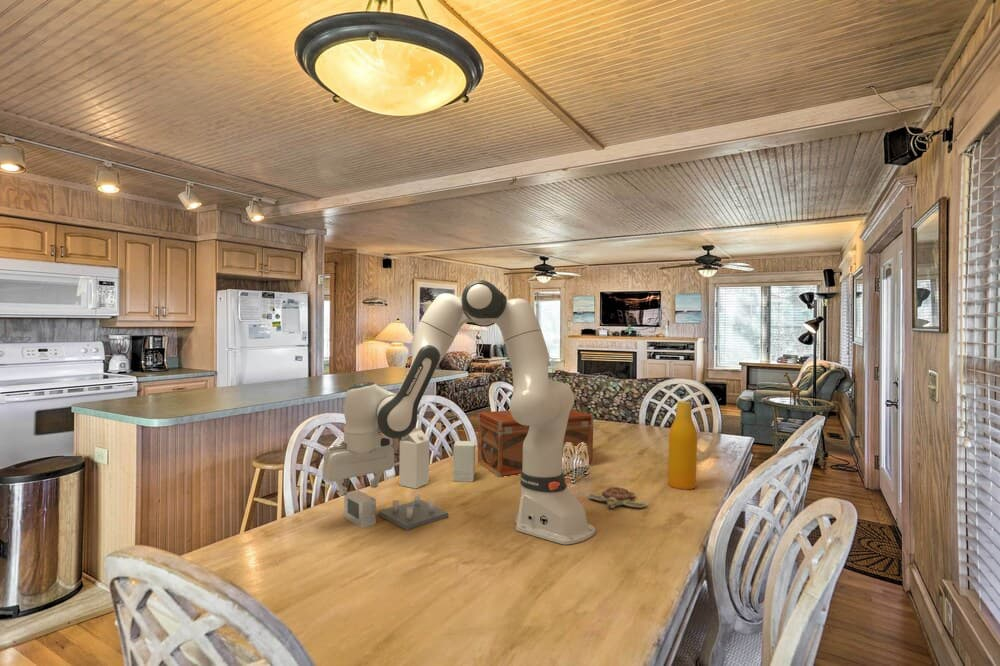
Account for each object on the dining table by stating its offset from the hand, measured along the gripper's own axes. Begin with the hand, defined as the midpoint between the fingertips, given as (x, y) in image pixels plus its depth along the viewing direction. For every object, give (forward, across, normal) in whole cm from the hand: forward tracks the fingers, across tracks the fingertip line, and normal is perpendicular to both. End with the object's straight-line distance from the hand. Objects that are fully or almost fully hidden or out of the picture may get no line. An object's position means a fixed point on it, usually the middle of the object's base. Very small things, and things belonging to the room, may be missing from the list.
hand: (359, 490), depth 142 cm
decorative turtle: (+8, +67, -39) cm, 78 cm away
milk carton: (+8, +29, +16) cm, 34 cm away
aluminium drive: (+8, 0, -1) cm, 8 cm away
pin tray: (+8, +13, -8) cm, 17 cm away
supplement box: (+8, +46, +10) cm, 48 cm away
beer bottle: (+7, +98, -45) cm, 108 cm away
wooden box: (+8, +78, +6) cm, 79 cm away
